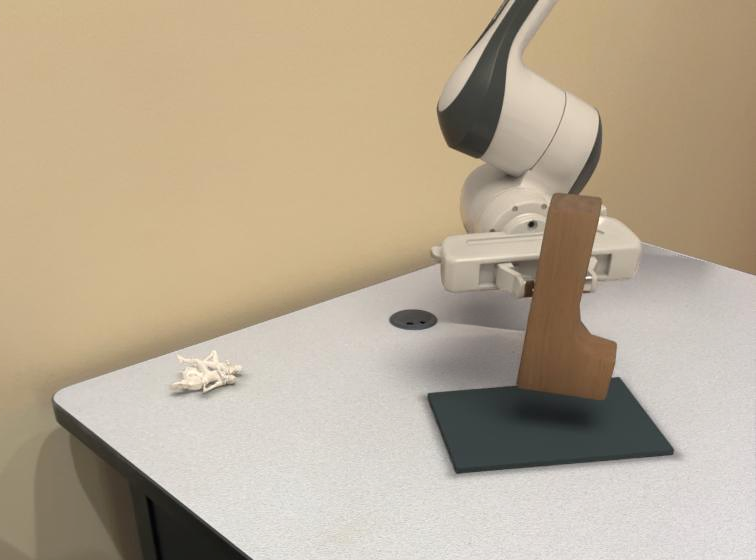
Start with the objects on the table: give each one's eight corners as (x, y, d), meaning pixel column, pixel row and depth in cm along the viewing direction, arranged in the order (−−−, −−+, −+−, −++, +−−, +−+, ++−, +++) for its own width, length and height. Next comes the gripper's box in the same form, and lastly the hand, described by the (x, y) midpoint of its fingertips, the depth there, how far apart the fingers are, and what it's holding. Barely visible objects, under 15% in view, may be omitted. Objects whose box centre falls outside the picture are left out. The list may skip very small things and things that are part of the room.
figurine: (247, 372, 109) (228, 400, 103) (187, 367, 110) (165, 395, 104) (246, 348, 107) (227, 376, 101) (185, 344, 108) (162, 370, 102)
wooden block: (607, 380, 92) (654, 201, 80) (605, 402, 89) (654, 219, 77) (520, 368, 94) (553, 190, 82) (514, 389, 91) (548, 207, 79)
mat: (618, 381, 102) (619, 376, 101) (673, 454, 89) (674, 449, 89) (427, 397, 101) (427, 392, 101) (456, 473, 89) (456, 468, 89)
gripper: (427, 216, 95) (454, 263, 84) (617, 201, 95) (667, 247, 85) (425, 275, 99) (450, 327, 88) (607, 261, 99) (653, 311, 89)
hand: (558, 288), depth 86 cm, fingers closed on wooden block, 5 cm apart
